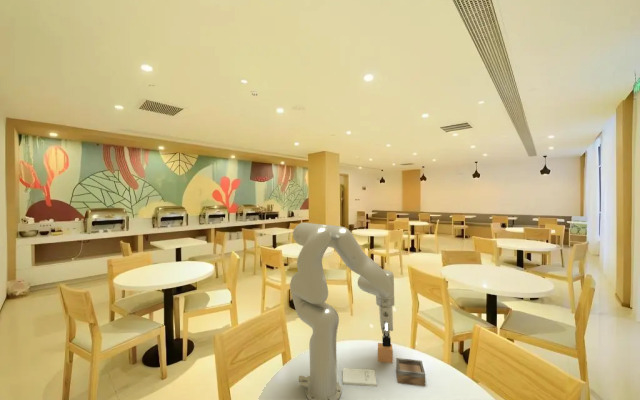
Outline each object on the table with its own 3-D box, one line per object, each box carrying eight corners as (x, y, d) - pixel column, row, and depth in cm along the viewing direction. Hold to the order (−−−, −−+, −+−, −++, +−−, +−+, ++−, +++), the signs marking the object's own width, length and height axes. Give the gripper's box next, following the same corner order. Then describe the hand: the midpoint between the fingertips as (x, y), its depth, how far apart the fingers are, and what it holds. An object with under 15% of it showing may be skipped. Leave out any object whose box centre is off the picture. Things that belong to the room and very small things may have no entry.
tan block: (377, 361, 114) (377, 348, 114) (377, 355, 119) (377, 342, 118) (392, 363, 113) (392, 350, 113) (392, 356, 117) (392, 344, 117)
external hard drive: (342, 371, 109) (374, 373, 108) (342, 386, 101) (376, 387, 100) (342, 367, 109) (374, 369, 108) (342, 381, 101) (376, 383, 99)
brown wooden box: (397, 382, 101) (397, 370, 101) (396, 368, 109) (396, 357, 109) (425, 386, 99) (425, 374, 99) (421, 371, 107) (421, 360, 107)
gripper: (395, 309, 106) (396, 352, 107) (393, 292, 123) (394, 329, 124) (376, 308, 108) (377, 351, 108) (376, 292, 124) (377, 328, 125)
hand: (386, 339), depth 116 cm, fingers open, 9 cm apart
